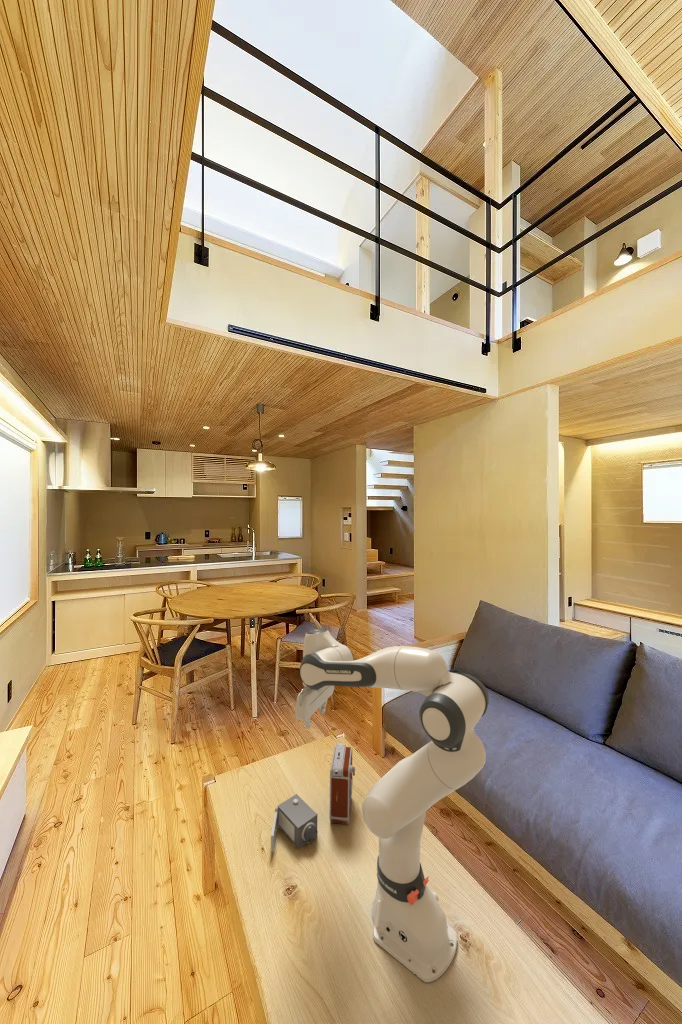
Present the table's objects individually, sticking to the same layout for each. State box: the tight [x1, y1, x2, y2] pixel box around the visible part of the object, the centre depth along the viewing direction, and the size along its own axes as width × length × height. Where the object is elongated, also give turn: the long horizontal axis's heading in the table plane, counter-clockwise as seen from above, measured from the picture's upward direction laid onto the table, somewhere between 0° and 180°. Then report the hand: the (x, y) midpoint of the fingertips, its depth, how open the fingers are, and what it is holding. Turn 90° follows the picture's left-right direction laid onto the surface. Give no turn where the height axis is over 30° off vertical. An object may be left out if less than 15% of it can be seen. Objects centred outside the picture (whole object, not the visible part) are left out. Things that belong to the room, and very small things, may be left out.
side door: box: [270, 807, 279, 853], centre depth 124 cm, size 10×1×6 cm, turn 2°
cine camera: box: [329, 742, 356, 825], centre depth 139 cm, size 9×19×20 cm, turn 174°
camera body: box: [277, 793, 319, 850], centre depth 127 cm, size 14×8×8 cm, turn 42°
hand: (315, 719), depth 123 cm, fingers open, 8 cm apart
